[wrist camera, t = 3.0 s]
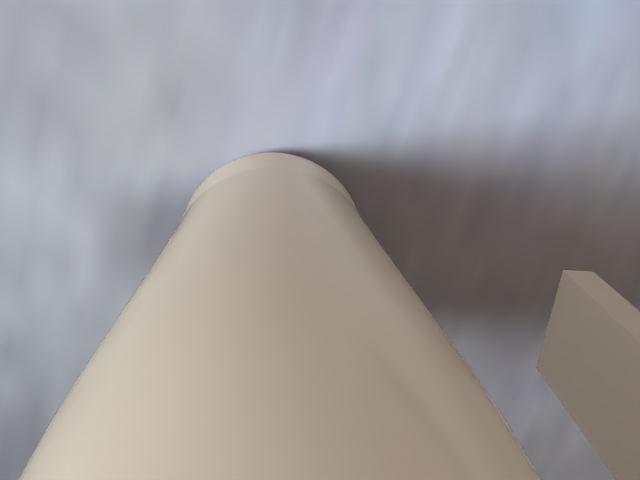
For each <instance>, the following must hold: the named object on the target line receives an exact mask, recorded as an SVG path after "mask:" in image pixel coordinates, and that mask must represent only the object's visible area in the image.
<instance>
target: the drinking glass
mask: <svg viewBox="0 0 640 480" xmlns="http://www.w3.org/2000/svg"><path fill="white" fill-rule="evenodd" d="M19 480H541V479H540V477H539V475H538V474H537V472H536V470H535V469H534V467H533V465H532V464H531V462H530V460H529V458H528V457H527V455H526V453H525V452H524V450H523V448H522V447H521V445H520V443H519V442H518V440H517V438H516V437H515V435H514V433H513V432H512V430H511V428H510V427H509V425H508V424H507V422H506V420H505V419H504V417H503V416H502V414H501V412H500V411H499V409H498V408H497V406H496V404H495V403H494V401H493V400H492V398H491V397H490V395H489V394H488V392H487V391H486V389H485V388H484V386H483V385H482V383H481V382H480V380H479V379H478V377H477V376H476V374H475V373H474V372H473V370H472V369H471V367H470V366H469V365H468V363H467V362H466V360H465V359H464V358H463V356H462V355H461V353H460V352H459V351H458V349H457V348H456V346H455V345H454V344H453V342H452V341H451V340H450V338H449V337H448V336H447V334H446V333H445V332H444V330H443V329H442V327H441V326H440V325H439V323H438V322H437V321H436V319H435V318H434V317H433V315H432V314H431V313H430V311H429V310H428V309H427V307H426V306H425V304H424V303H423V302H422V300H421V299H420V298H419V296H418V295H417V294H416V292H415V291H414V290H413V288H412V287H411V286H410V284H409V283H408V282H407V280H406V279H405V278H404V276H403V275H402V273H401V272H400V271H399V269H398V268H397V267H396V265H395V264H394V262H393V261H392V260H391V258H390V257H389V256H388V254H387V253H386V252H385V250H384V249H383V247H382V246H381V245H380V243H379V242H378V240H377V239H376V238H375V236H374V235H373V233H372V232H371V231H370V229H369V228H368V226H367V225H366V224H365V222H364V221H363V219H362V218H361V216H360V214H359V212H358V210H357V208H356V206H355V203H354V201H353V199H352V198H351V196H350V195H349V193H348V191H347V190H346V189H345V188H344V186H343V185H342V184H341V183H340V182H339V181H338V179H337V178H336V177H334V176H333V175H332V174H331V173H330V172H328V171H327V170H326V169H324V168H323V167H321V166H320V165H318V164H316V163H314V162H312V161H310V160H308V159H305V158H302V157H299V156H296V155H291V154H286V153H276V152H267V153H257V154H251V155H247V156H243V157H240V158H238V159H235V160H233V161H231V162H229V163H227V164H225V165H223V166H222V167H220V168H218V169H217V170H216V171H214V172H213V173H212V174H210V175H209V176H208V177H207V178H206V179H205V180H204V181H203V182H202V183H201V185H200V186H199V187H198V188H197V189H196V191H195V192H194V194H193V195H192V197H191V199H190V201H189V202H188V204H187V207H186V209H185V212H184V214H183V217H182V219H181V221H180V223H179V225H178V226H177V228H176V230H175V231H174V233H173V234H172V236H171V237H170V239H169V241H168V242H167V244H166V245H165V247H164V248H163V250H162V251H161V253H160V254H159V256H158V257H157V259H156V261H155V262H154V264H153V265H152V267H151V268H150V270H149V271H148V273H147V274H146V276H145V277H144V279H143V280H142V282H141V283H140V285H139V286H138V288H137V289H136V291H135V292H134V294H133V295H132V297H131V298H130V300H129V301H128V303H127V304H126V306H125V307H124V309H123V310H122V312H121V313H120V315H119V316H118V318H117V319H116V321H115V322H114V324H113V325H112V327H111V328H110V330H109V331H108V333H107V334H106V336H105V337H104V339H103V340H102V342H101V343H100V345H99V346H98V348H97V349H96V351H95V352H94V354H93V355H92V357H91V358H90V360H89V361H88V363H87V364H86V366H85V367H84V369H83V371H82V372H81V374H80V375H79V377H78V378H77V380H76V381H75V383H74V384H73V386H72V388H71V389H70V391H69V392H68V394H67V395H66V397H65V399H64V400H63V402H62V404H61V405H60V407H59V409H58V410H57V412H56V414H55V415H54V417H53V419H52V420H51V422H50V424H49V425H48V427H47V429H46V430H45V432H44V434H43V436H42V438H41V439H40V441H39V443H38V445H37V446H36V448H35V450H34V452H33V454H32V455H31V457H30V459H29V461H28V463H27V465H26V466H25V468H24V470H23V472H22V474H21V476H20V478H19Z"/></svg>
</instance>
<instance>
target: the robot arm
mask: <svg viewBox="0 0 640 480" xmlns="http://www.w3.org/2000/svg"><path fill="white" fill-rule="evenodd" d="M536 368H537V369H538V370H539V372H540V373H541V375H542V376H543V377H544V379H545V380H546V382H547V383H548V385H549V386H550V387H551V389H552V390H553V392H554V393H555V394H556V396H557V397H558V399H559V400H560V401H561V403H562V404H563V406H564V407H565V408H566V410H567V411H568V413H569V414H570V416H571V417H572V418H573V420H574V421H575V423H576V424H577V425H578V427H579V428H580V430H581V431H582V432H583V434H584V435H585V437H586V438H587V440H588V441H589V442H590V444H591V445H592V447H593V448H594V449H595V451H596V452H597V454H598V455H599V456H600V458H601V459H602V461H603V462H604V464H605V465H606V466H607V468H608V469H609V471H610V472H611V473H612V475H613V476H614V478H615V479H616V480H640V311H639V310H637V309H636V308H635V307H634V306H633V305H632V304H630V303H629V302H628V301H627V300H626V299H625V298H623V297H622V296H621V295H620V294H619V293H618V292H617V291H615V290H614V289H613V288H612V287H611V286H610V285H608V284H607V283H606V282H605V281H604V280H603V279H602V278H600V277H599V276H598V275H597V274H596V273H595V272H593V271H575V270H563V272H562V275H561V279H560V283H559V286H558V290H557V294H556V297H555V301H554V305H553V308H552V312H551V316H550V320H549V323H548V327H547V331H546V334H545V338H544V342H543V345H542V349H541V353H540V356H539V360H538V364H537V367H536Z"/></svg>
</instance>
